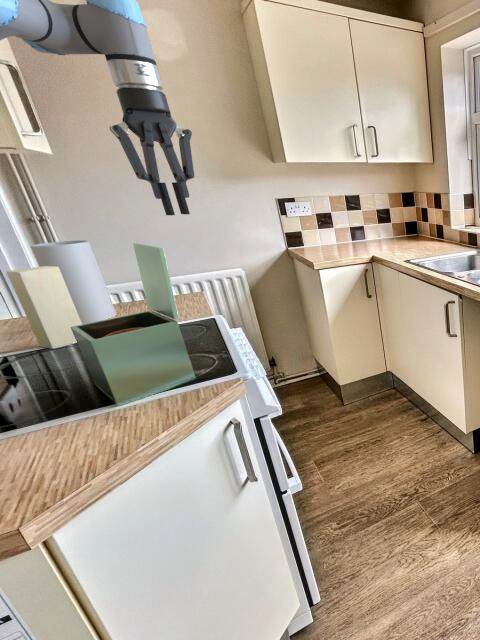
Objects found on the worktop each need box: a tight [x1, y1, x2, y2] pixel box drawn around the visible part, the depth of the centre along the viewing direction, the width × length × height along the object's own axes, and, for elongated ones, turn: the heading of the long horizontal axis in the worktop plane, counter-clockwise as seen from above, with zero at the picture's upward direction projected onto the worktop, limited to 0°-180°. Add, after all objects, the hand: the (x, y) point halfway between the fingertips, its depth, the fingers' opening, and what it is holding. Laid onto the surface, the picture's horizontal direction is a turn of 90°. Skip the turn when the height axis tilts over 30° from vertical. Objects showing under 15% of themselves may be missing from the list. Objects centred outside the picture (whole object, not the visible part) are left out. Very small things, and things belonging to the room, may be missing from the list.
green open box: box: [71, 309, 198, 407], centre depth 90 cm, size 14×16×14 cm
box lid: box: [132, 242, 180, 320], centre depth 90 cm, size 14×16×1 cm
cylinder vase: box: [30, 239, 118, 324], centre depth 132 cm, size 12×12×25 cm
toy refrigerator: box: [5, 266, 82, 350], centre depth 114 cm, size 8×7×21 cm
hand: (178, 214), depth 91 cm, fingers open, 2 cm apart
